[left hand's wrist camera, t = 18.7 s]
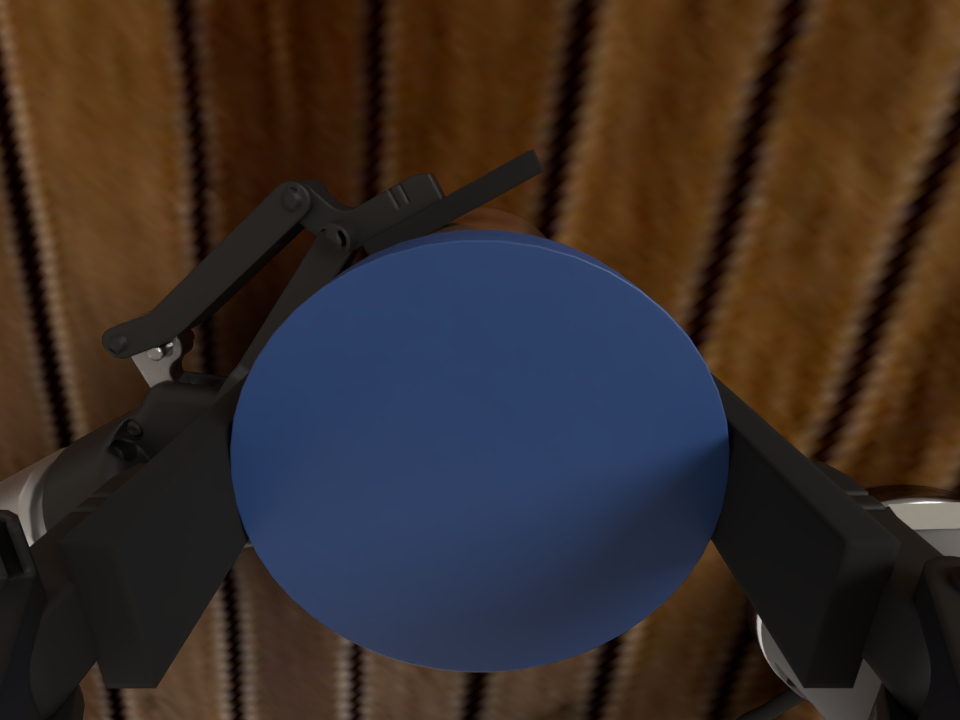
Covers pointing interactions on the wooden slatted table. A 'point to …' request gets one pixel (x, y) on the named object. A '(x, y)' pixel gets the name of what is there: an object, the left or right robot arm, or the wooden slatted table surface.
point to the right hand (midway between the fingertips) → (588, 279)
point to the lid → (479, 453)
